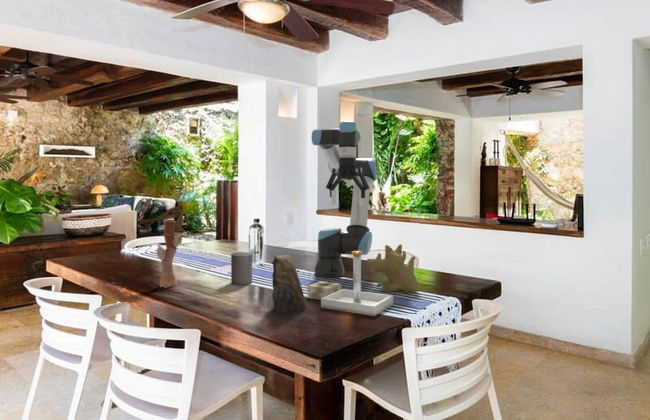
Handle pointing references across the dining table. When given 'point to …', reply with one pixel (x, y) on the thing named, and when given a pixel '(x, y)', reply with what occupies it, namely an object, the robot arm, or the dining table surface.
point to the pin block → (322, 289)
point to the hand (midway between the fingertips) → (347, 205)
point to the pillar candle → (241, 268)
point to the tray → (368, 306)
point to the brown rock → (286, 285)
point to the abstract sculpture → (168, 254)
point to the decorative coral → (395, 270)
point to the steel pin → (357, 276)
